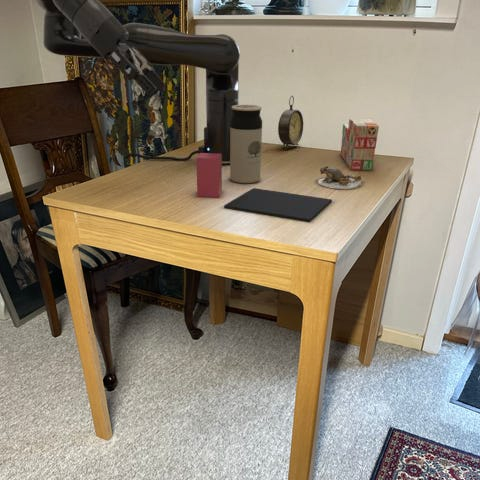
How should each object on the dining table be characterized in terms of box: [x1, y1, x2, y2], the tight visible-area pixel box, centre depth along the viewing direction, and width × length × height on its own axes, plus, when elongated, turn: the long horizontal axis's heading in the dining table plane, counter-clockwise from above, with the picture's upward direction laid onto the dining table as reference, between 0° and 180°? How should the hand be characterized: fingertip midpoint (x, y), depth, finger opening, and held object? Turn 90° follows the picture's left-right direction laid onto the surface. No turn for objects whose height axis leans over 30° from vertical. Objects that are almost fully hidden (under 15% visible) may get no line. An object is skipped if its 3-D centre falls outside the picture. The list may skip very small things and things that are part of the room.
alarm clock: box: [277, 95, 304, 151], centre depth 165 cm, size 11×5×16 cm, turn 148°
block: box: [195, 153, 223, 198], centre depth 117 cm, size 5×5×9 cm
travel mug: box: [229, 104, 263, 184], centre depth 127 cm, size 8×8×18 cm
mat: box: [223, 187, 333, 223], centre depth 113 cm, size 20×16×1 cm
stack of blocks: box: [340, 117, 380, 171], centre depth 149 cm, size 21×6×12 cm, turn 179°
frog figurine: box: [317, 165, 363, 190], centre depth 129 cm, size 12×12×4 cm
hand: (158, 90), depth 109 cm, fingers open, 8 cm apart
